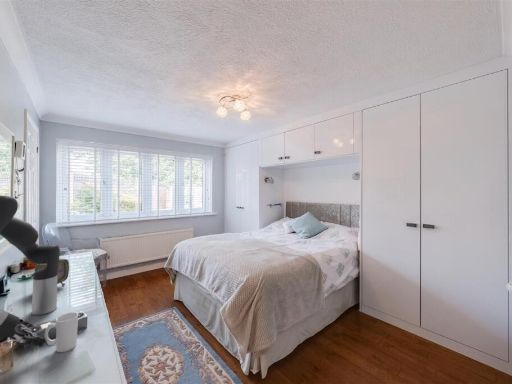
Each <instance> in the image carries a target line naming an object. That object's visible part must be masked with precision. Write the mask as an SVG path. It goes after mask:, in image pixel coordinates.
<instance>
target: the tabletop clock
mask: <svg viewBox="0 0 512 384" xmlns="http://www.w3.org/2000/svg"><path fill="white" fill-rule="evenodd" d="M46 266H47V264H35V267H34V271H33V274H34V273H35V272H36V271H38V270H41V269H44V268H46ZM69 272H70V262H69V259H67V258H59V268H58V274H57V285H59V284H61V286H62V287H64V286H65V285H66V284H65V283H64V282H66V281H67V280H68V277H69V274H70V273H69Z"/></svg>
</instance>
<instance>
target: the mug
mask: <svg viewBox="0 0 512 384" xmlns="http://www.w3.org/2000/svg"><path fill="white" fill-rule="evenodd" d="M53 327H56V339H53V340H51V339H49V337H48V332H49V330H50V329H51V328H53ZM77 327H78V312H75V311H74V312H67V313H64V314H61V315H59V316H58V317H57V318H56V323H55V324H53V323H51V324H48V327H47V329H46V331H45V333H44V337H45V340H46V342H45V343H46V344H47V345H48V346H51V345H56V346H55V350H56V353H57V352H58V353H64V352H68V351H70V350H72V349H74V348H75V347H76V346H77V342H78V341H77V339H78V331H77Z"/></svg>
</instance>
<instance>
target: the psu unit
mask: <svg viewBox="0 0 512 384" xmlns="http://www.w3.org/2000/svg"><path fill="white" fill-rule="evenodd" d="M77 313H78V327H77V332H78V331H80V330H84V329H86V327H87V328H88V315H87V314H86V312H85V311H84V310H81V311H78V312H77ZM56 319H57V318H56ZM56 319H51V320H49V321H45V322H43V323H39V324H36V325H33V326H30V327H28V328H30V329H31V330H33V331H34V333H36V334H37V336H40V337H42V338H45V337H44V333H45V331H46V329H47V327H48V324H51V323H53V324H55V323H56ZM48 337H49V339H51V340H54V339H56V327H53V328H51V329H50V330H49V332H48ZM36 346H37V345H35V344H32V343H31V344H30V345H23V348H24V350H27V349H31V348H34V347H36Z"/></svg>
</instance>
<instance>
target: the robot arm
mask: <svg viewBox="0 0 512 384" xmlns="http://www.w3.org/2000/svg"><path fill="white" fill-rule="evenodd" d="M18 208H19V204H18V201H17V199H16V198H15V197H14V196H13V197H12V196H11V195H0V236H2V238H4V239H5V240H6V241H7V242H8V243H9V244H11V245H12V246H14V247H15V248H17V249H18V250H19V251H20V252H21V253H22V254H23V255H24V256H25V258H26V259H27V260H28V261H29V262H30V264H34V265H37V264H47V266H46V268H44V269H41V270H38V271H36V272H35V273H34V272H33V274H32V296H31V297H32V299H31V301H32V304H31V314H32V315H33V316H39V315H45V314H49V313H51V312H53V311H55V310H57V304H58V303H57V302H58V284H57V274H58V268H59V259H60V258H61V257H60V256H61V255H60V254H61V249H60V246H59V245H57V244H37V241H38V240H39V232H38V231H37V230H36V228H35V227H34V226H33V225H32V224H30V222H27V221H25V220H23V219H20V218H18V217H15V215H16V214H17V212H18ZM20 319H21V318H20V317H19V316H16V315H14V314H12V313H10V312H7V311H5V310H3V309H2V308H0V341H2V340H3V339H6V338H9V340H10V341H13V342H16V345H17V346H24V345H30V344H31V343H32V344H35V345H36V346H37V347H42V346H43V345H44V344H45V343H47V342H46V340H45V338H42V337H40V336H37V334H36V333H34V331H33V330H31V329H30V328H29V327H28V326H27V325H25V324H24V323H22V322H20Z"/></svg>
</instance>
